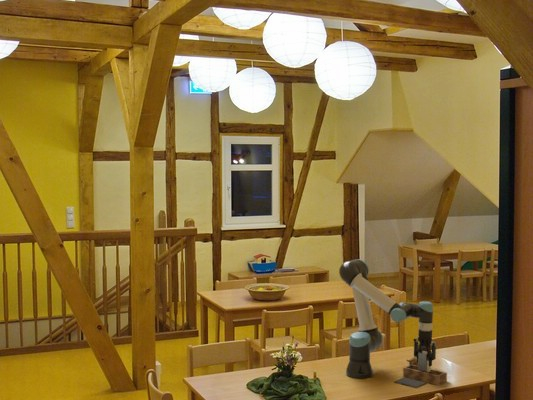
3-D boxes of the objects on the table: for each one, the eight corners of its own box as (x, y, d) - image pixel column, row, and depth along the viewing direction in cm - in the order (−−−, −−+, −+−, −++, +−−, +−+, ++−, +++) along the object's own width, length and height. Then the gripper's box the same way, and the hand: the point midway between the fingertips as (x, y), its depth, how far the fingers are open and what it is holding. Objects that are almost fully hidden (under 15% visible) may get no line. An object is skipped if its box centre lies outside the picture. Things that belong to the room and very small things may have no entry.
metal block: (417, 373, 384) (418, 352, 383) (422, 371, 388) (423, 350, 387) (425, 375, 381) (426, 354, 380) (430, 373, 384) (431, 352, 384)
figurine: (430, 367, 406) (431, 342, 405) (411, 375, 390) (412, 349, 389) (420, 364, 411) (420, 340, 410) (401, 372, 395) (401, 347, 394)
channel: (403, 376, 389) (403, 367, 388) (411, 372, 395) (411, 364, 395) (438, 385, 373) (438, 376, 373) (446, 381, 380) (446, 372, 380)
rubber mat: (394, 382, 378) (394, 381, 378) (404, 378, 385) (404, 377, 385) (416, 388, 368) (416, 387, 368) (426, 383, 376) (426, 382, 376)
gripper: (407, 327, 386) (406, 368, 388) (436, 333, 374) (435, 375, 375) (414, 325, 392) (413, 365, 393) (443, 331, 379) (442, 372, 381)
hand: (424, 370), depth 384 cm, fingers closed on metal block, 5 cm apart
